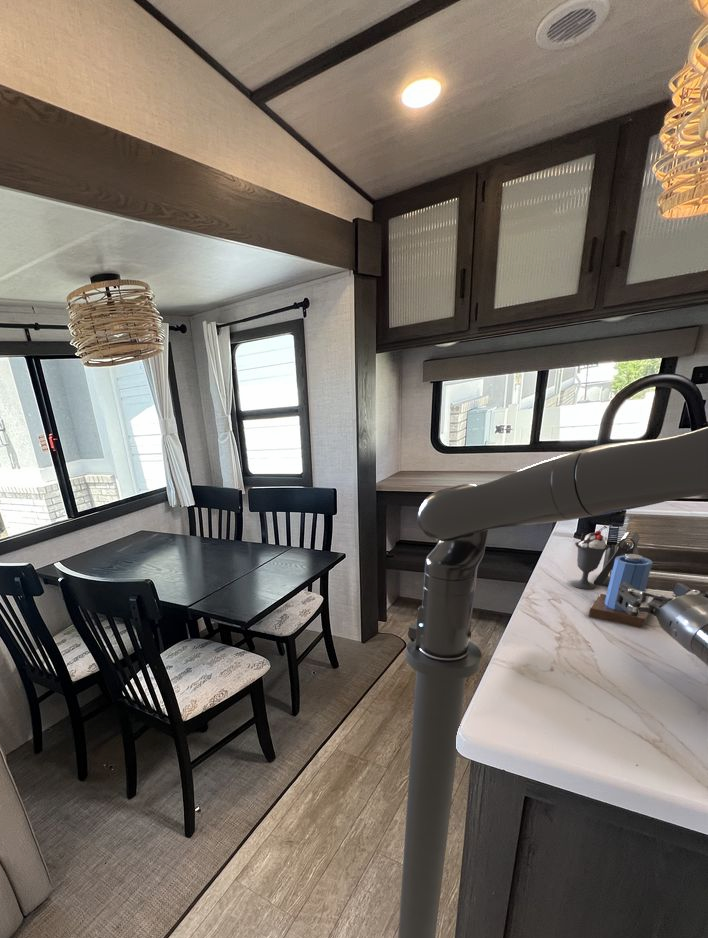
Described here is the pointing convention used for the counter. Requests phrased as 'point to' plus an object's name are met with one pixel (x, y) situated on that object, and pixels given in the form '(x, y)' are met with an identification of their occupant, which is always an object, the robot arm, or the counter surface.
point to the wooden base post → (618, 616)
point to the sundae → (589, 556)
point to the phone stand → (622, 548)
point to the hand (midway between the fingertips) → (649, 587)
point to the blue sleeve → (627, 578)
